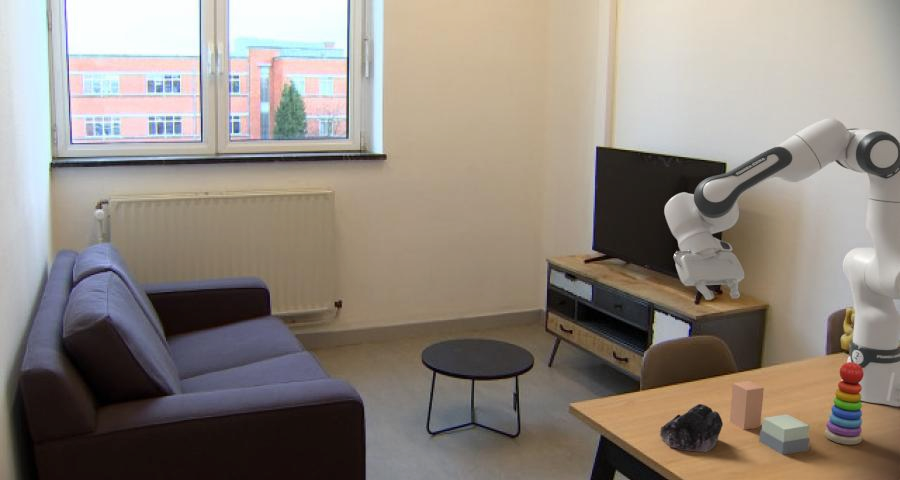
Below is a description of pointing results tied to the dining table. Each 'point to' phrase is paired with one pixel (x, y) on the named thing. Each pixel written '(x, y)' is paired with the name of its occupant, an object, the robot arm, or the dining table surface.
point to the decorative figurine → (848, 329)
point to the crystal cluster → (693, 429)
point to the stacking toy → (847, 407)
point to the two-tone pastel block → (784, 434)
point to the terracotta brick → (746, 405)
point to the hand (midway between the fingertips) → (723, 298)
